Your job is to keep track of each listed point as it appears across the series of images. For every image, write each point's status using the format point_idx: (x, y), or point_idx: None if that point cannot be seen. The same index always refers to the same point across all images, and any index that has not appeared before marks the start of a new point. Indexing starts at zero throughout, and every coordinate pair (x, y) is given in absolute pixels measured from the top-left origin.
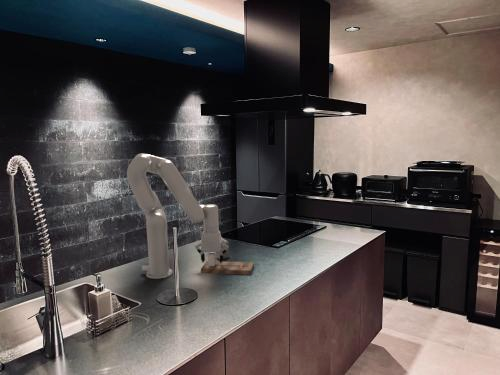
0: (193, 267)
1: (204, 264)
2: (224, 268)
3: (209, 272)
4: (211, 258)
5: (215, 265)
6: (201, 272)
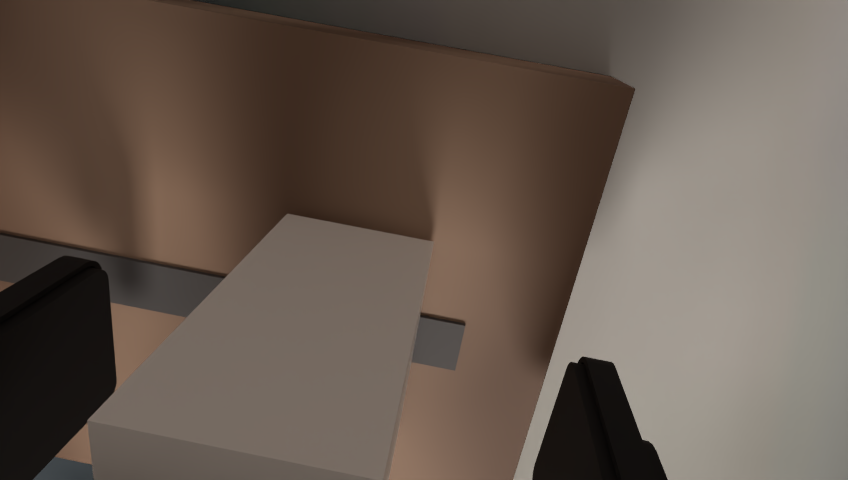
0: (751, 401)
1: (535, 384)
2: (20, 77)
3: (406, 40)
4: (278, 338)
5: None
6: (600, 76)
